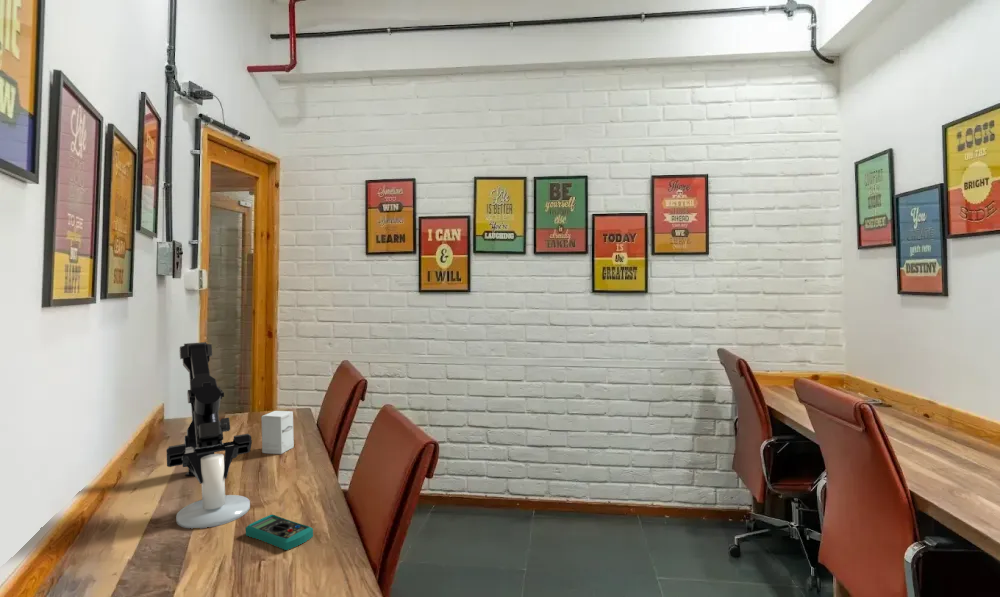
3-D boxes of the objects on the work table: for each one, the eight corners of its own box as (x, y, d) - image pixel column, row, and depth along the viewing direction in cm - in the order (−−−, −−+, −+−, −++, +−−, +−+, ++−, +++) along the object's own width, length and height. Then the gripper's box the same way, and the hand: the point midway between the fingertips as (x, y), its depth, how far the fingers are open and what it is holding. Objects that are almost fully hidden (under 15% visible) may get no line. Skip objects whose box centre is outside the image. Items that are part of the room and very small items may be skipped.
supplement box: (281, 454, 173) (280, 416, 173) (261, 453, 175) (260, 415, 174) (294, 447, 181) (293, 410, 180) (275, 446, 182) (274, 410, 182)
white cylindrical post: (198, 506, 130) (196, 458, 129) (217, 499, 134) (215, 452, 133) (210, 511, 127) (208, 462, 127) (229, 503, 131) (228, 455, 131)
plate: (160, 528, 123) (160, 523, 123) (202, 499, 139) (202, 494, 139) (227, 528, 122) (227, 523, 122) (261, 499, 138) (261, 495, 138)
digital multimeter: (288, 554, 112) (287, 540, 112) (244, 537, 119) (243, 524, 119) (315, 539, 118) (315, 526, 118) (272, 524, 125) (272, 512, 125)
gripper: (165, 414, 127) (168, 473, 119) (249, 403, 138) (258, 456, 129) (165, 438, 134) (168, 495, 126) (245, 425, 145) (253, 477, 136)
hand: (213, 480), depth 129 cm, fingers closed on white cylindrical post, 5 cm apart
